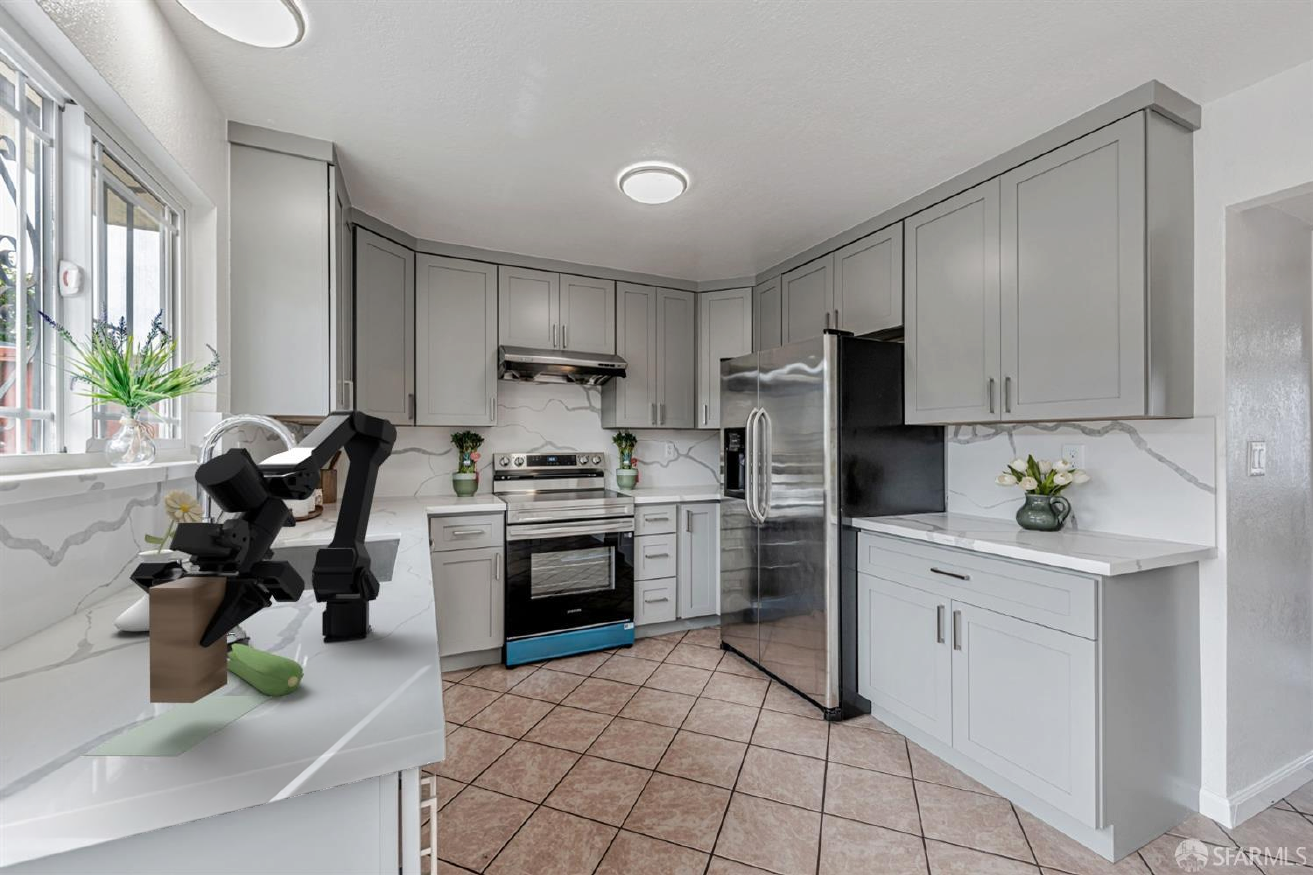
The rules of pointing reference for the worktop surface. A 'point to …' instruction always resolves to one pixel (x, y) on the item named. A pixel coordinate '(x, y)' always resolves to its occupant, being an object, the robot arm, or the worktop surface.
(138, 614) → the flower in vase
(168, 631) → the walnut post
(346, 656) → the worktop surface
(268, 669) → the green zucchini
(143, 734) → the sage board
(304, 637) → the worktop surface
